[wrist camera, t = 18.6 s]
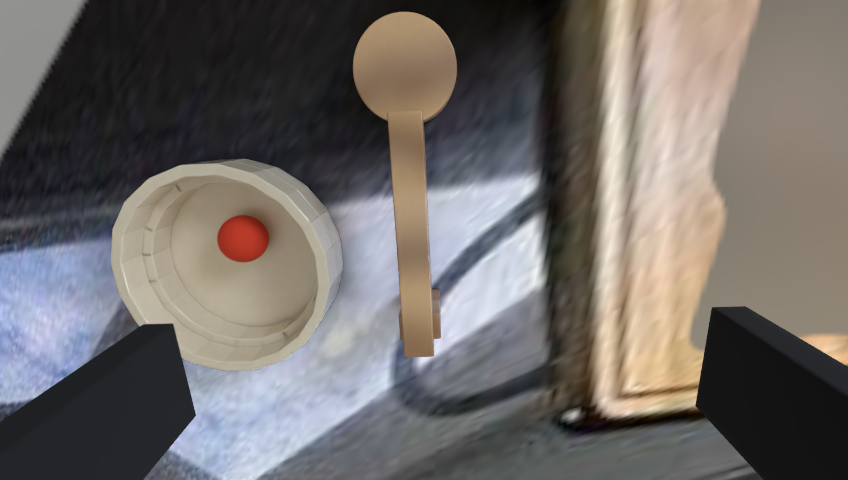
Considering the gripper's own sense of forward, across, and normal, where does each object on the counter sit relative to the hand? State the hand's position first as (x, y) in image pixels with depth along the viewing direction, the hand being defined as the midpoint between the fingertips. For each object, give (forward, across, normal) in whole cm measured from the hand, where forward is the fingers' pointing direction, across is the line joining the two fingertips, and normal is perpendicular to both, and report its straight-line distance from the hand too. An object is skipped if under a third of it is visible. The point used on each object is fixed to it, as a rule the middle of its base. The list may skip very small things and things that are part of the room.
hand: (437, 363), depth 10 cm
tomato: (+20, -15, -2) cm, 25 cm away
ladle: (+23, -2, +1) cm, 23 cm away
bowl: (+22, -16, -4) cm, 28 cm away
